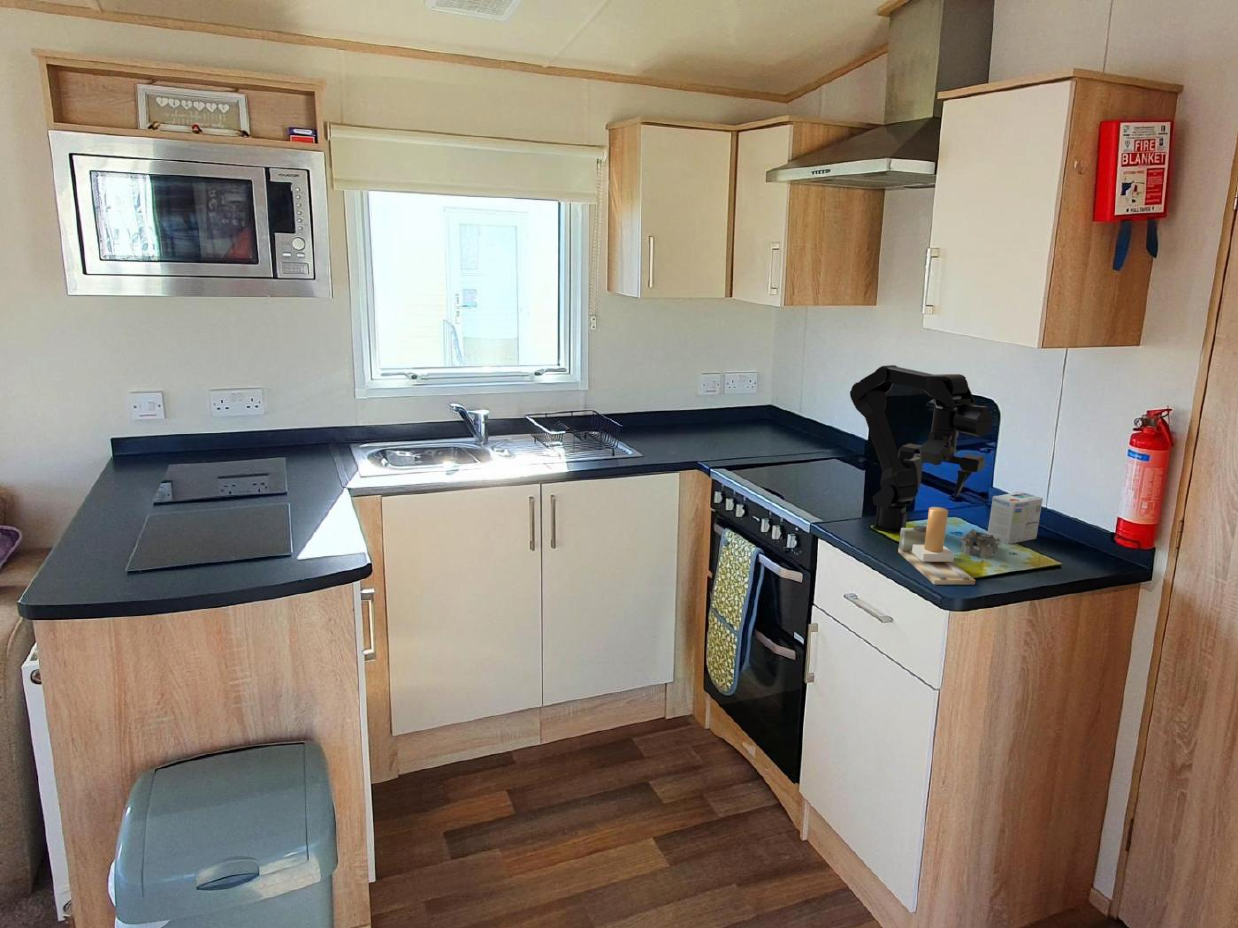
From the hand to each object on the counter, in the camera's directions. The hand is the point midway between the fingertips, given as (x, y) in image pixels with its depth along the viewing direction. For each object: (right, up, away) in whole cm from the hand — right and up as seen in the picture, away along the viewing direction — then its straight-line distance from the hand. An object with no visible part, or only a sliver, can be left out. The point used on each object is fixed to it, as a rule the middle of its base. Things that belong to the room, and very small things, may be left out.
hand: (936, 492), depth 204 cm
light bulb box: (+22, -12, +10) cm, 27 cm away
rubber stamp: (-5, -14, -11) cm, 19 cm away
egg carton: (+10, -14, 0) cm, 17 cm away
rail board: (-5, -16, -12) cm, 21 cm away
